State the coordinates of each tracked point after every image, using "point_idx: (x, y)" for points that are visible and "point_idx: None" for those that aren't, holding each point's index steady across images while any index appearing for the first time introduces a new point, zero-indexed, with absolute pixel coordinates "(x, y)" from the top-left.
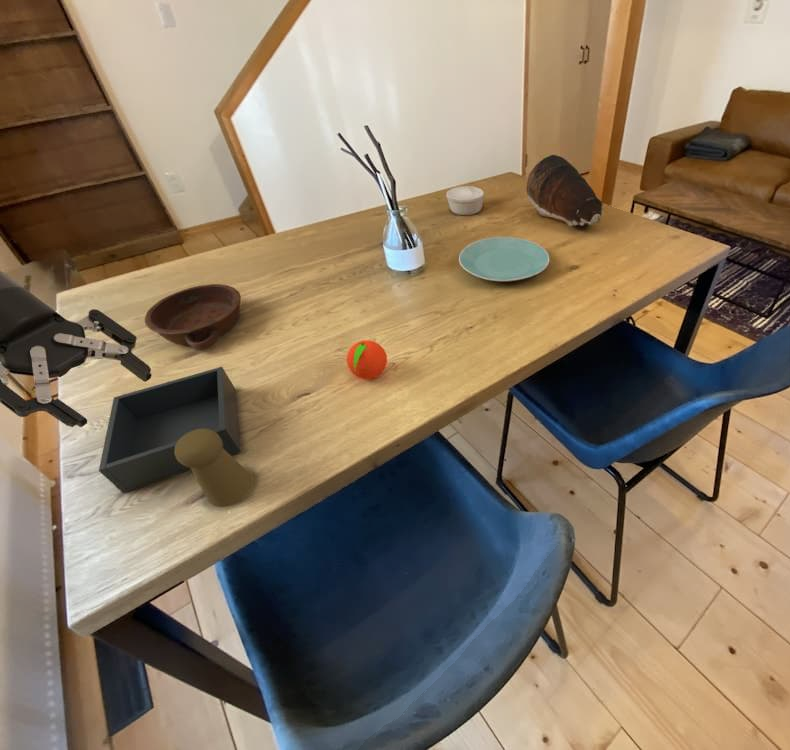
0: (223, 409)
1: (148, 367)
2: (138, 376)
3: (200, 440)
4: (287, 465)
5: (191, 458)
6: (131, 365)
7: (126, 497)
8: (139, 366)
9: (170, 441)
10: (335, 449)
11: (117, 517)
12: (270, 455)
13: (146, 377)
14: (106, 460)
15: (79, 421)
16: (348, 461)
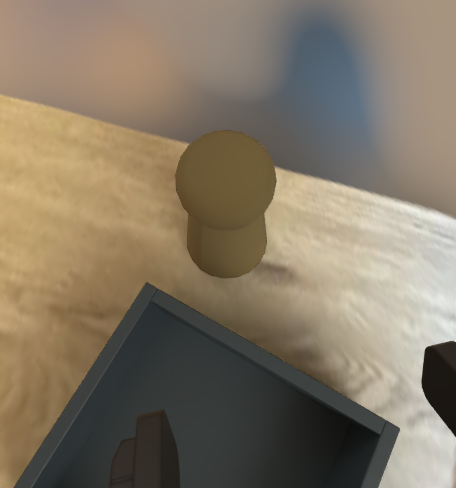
0: (103, 352)
1: (120, 452)
2: (177, 481)
3: (215, 145)
4: (138, 196)
5: (256, 140)
6: (162, 483)
7: (362, 397)
8: (142, 460)
9: (232, 473)
10: (69, 155)
11: (391, 361)
12: (137, 242)
13: (164, 411)
14: (376, 449)
15: (453, 343)
16: (80, 119)
